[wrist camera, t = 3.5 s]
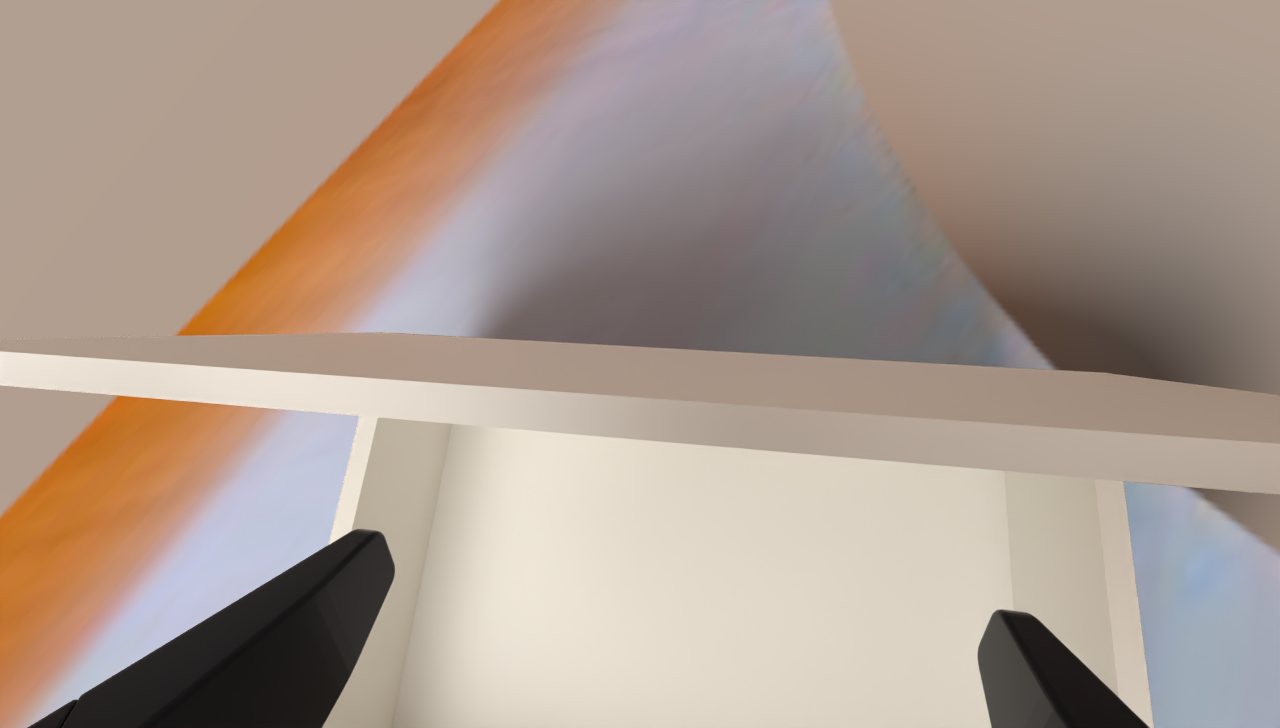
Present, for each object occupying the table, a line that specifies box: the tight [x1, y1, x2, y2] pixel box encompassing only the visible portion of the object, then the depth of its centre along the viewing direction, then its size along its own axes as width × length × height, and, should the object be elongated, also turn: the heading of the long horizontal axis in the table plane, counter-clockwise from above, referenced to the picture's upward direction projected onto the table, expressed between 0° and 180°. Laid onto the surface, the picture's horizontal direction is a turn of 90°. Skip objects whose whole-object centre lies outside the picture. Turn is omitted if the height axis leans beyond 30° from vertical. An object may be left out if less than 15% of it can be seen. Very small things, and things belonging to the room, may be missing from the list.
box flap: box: [0, 332, 1280, 495], centre depth 10 cm, size 1×20×10 cm, turn 83°
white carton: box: [322, 332, 1154, 728], centre depth 16 cm, size 16×20×5 cm
